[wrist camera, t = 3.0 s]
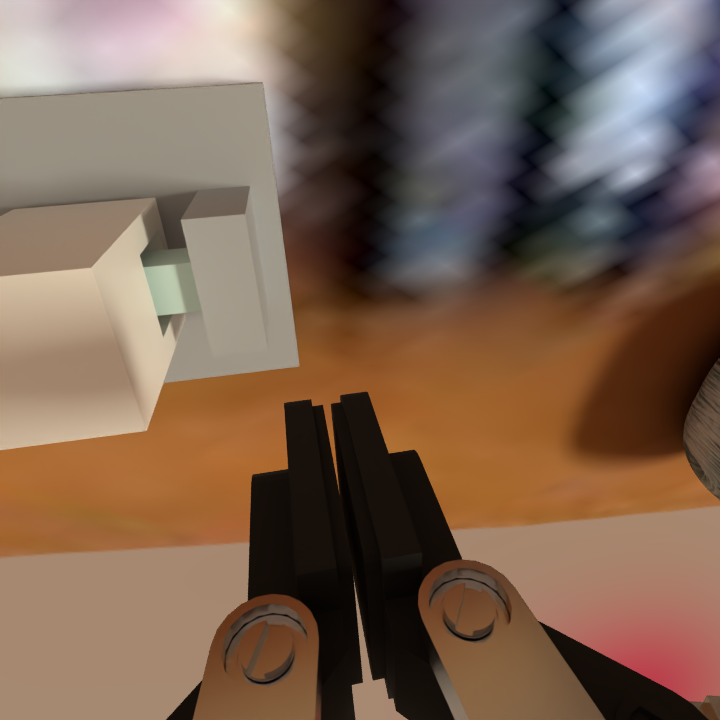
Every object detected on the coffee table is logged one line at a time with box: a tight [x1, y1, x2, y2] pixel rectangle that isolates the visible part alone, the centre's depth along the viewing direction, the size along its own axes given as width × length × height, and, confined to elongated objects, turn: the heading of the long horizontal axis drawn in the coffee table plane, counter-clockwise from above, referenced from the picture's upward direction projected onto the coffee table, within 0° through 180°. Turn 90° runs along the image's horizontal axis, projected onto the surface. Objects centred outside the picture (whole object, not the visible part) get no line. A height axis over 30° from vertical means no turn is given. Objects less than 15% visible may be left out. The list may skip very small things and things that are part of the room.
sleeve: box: [0, 198, 186, 450], centre depth 16 cm, size 5×5×8 cm
